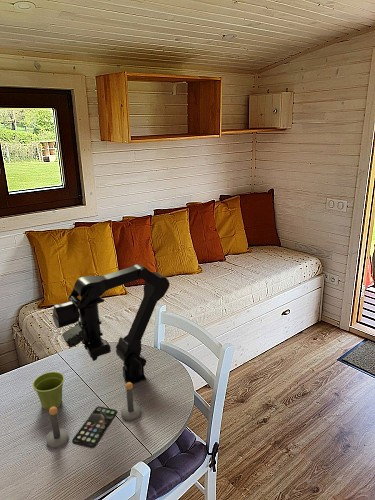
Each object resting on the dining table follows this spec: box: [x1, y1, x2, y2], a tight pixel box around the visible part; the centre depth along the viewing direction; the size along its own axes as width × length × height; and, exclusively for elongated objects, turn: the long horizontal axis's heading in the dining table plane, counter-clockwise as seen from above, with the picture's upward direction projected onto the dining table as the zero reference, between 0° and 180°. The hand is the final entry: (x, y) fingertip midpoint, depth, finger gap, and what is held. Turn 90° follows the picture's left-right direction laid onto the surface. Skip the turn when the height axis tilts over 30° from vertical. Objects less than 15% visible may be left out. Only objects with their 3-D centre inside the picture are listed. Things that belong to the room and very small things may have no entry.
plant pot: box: [32, 371, 65, 411], centre depth 120 cm, size 9×9×9 cm
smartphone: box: [71, 405, 118, 449], centre depth 113 cm, size 7×1×15 cm
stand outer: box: [45, 407, 69, 449], centre depth 106 cm, size 6×6×11 cm
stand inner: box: [120, 382, 142, 421], centre depth 116 cm, size 6×6×11 cm
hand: (94, 360), depth 122 cm, fingers closed
